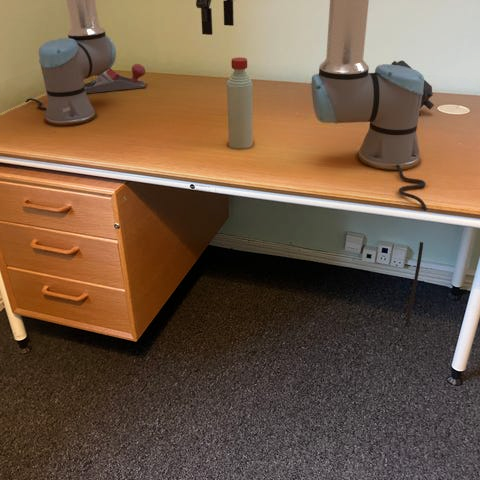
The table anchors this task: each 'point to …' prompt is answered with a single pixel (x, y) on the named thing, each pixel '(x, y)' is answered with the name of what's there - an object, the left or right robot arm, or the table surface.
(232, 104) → the bottle
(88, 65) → the left robot arm
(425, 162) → the table surface
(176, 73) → the table surface
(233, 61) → the cap
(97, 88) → the hand plane
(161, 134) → the table surface
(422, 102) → the tool
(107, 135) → the table surface
